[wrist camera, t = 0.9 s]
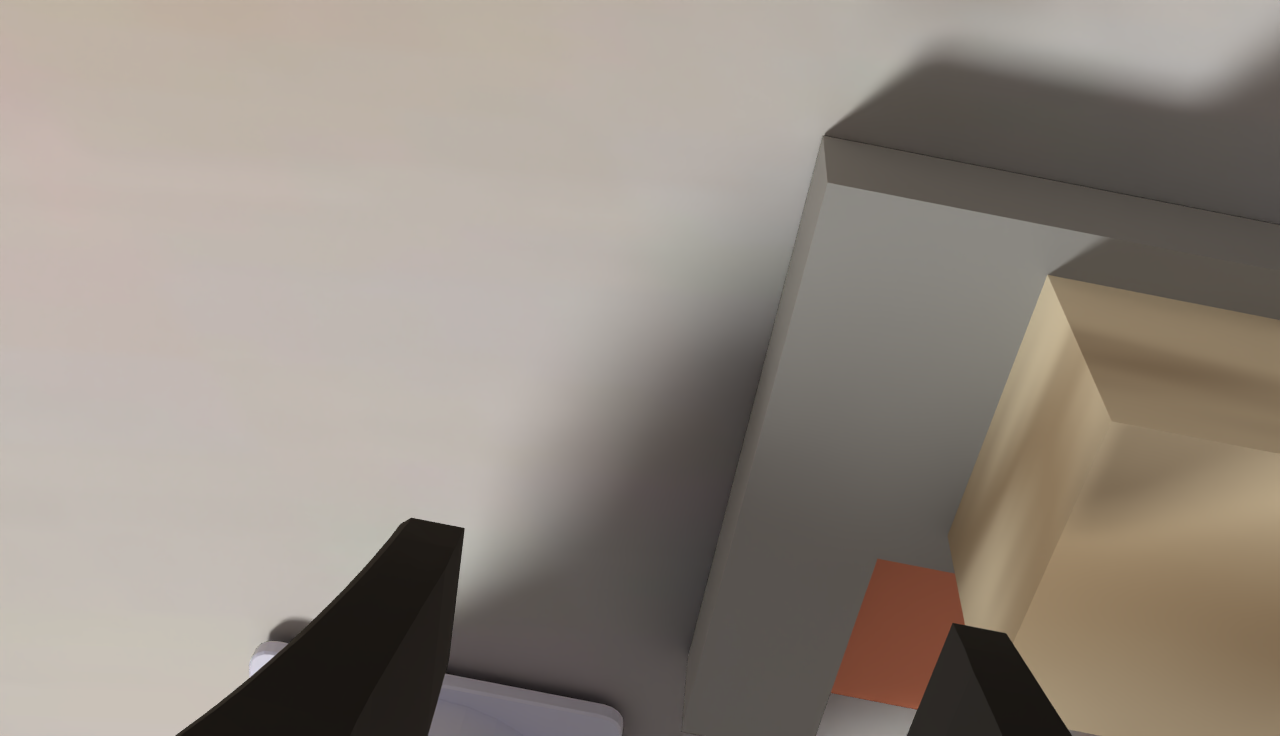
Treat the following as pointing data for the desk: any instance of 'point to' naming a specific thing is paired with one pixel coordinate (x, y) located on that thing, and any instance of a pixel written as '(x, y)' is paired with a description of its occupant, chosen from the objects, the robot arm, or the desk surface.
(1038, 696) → the robot arm
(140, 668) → the desk surface
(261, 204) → the desk surface
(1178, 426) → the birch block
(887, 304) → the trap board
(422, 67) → the desk surface
